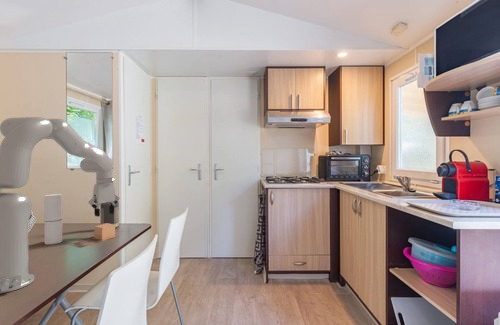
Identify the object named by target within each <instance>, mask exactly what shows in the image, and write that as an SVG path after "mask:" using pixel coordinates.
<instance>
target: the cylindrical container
mask: <svg viewBox="0 0 500 325" xmlns="http://www.w3.org/2000/svg"><path fill="white" fill-rule="evenodd" d="M43 214H44V215H43V221H44V222H43V223H44V231H43V232H44V234H43V235H44V244H45V245H54V244H55V245H56V244H59V243H61V242H63V194H62V193H61V194H59V193H53V194H45V195H43Z"/></svg>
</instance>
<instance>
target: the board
mask: <svg viewBox="0 0 500 325" xmlns="http://www.w3.org/2000/svg"><path fill="white" fill-rule="evenodd" d="M119 237H120V236H119V235H115V237H113V238H109V239H106V240H99V239H95V238H94V237H92V238H87V239H84V240H79V241H77V242H76V241H75V242H72V243H69V244H68V245H69V246H73V247H76V248H85V247H88V246H91V245H95V244H98V243H102V242H105V241H109V240H112V239H116V238H119Z"/></svg>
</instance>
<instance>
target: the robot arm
mask: <svg viewBox="0 0 500 325" xmlns="http://www.w3.org/2000/svg"><path fill="white" fill-rule="evenodd" d="M0 133H1V135H2V136H3V137H4V138H3V139H2V141H1V142H0V294H5V293H9V292H13V291H16V290H19V289H22V288H25V287H27V286H28V285H30V284H31V283H33V282H34V281H35V275H34V274H33V273H29V272H30V270H29V268H30V267H29V222H30V216H31V212H32V209H33V208H32V201H31V199H30V198H29V196H26V195H25V194H22V193H17V192H3V189H5V190H7V189H8V190H9V189H10V190H11V189H13V190H14V189H21V188H23V187H25V186H26V185H27V184H28V182H29V179H30V172H31V161H32V155H33V154H32V153H33V150H34V148H35V147H36V145H37V144H38V143H39V142H41V141H42V140H53V141H54V142H55V143H57V144H58V145H59V146H60V147H61V148H62V149H63V150H64V151H65V152H66V153H67V154H69V155H72V156H74V157H77V158H83V159H82V160H81V161H80V163H79V168H80V169H81V170H82V171H83V172H85V173H92V174H93V173H96V174H95V176H96V179H95V180H96V181H95V182H96V183H95V184H93V190H92V198H90V199H89V201H88V205H89V206H91V207H92V208H93V209H94V210H93V211H94V212H93V213H94V216H95V217H100V205H101V203H108V202H109V204H110V206H109V213H111V214H114V206H115V204H116V203H117V201H118V202H119V200H120V197H119V196H118V195H116V188H115V184H114V182H115V178H113V177H114V176H113V169H114V168H113V159H112V157H111V158H110V156H109V155H108V154H107V153H106V152H105V151H104V150H103V149H101V148H99V147H98V146H95V145H94V144H92V143H90V142H87V141H86V140H84V139H83V138H82V136H80V134H79V133H78V132H77V131H76V130H75V129H74V127H72V125H70V124H69V122H67V121H66V120H64V119H61V118H45V117H41V116H39V117H38V116H36V117H35V116H34V117H33V116H29V117H27V116H26V117H9V118H6V119H4V120H3V121H2V122H1V123H0Z"/></svg>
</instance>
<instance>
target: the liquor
mask: <svg viewBox="0 0 500 325" xmlns="http://www.w3.org/2000/svg"><path fill="white" fill-rule="evenodd" d="M119 202H120V201H119V200H118V201H117V203H116V204H115V206H114V214H111V213H109V206H110V204H109V202H108V203H101V204H100V206H99V209H100V216H99V217H100V218H99V220H100V225H101V224H105V223H109V224H114V225H115V230H118V229H119V227H120V206H119V205H120V203H119Z"/></svg>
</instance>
